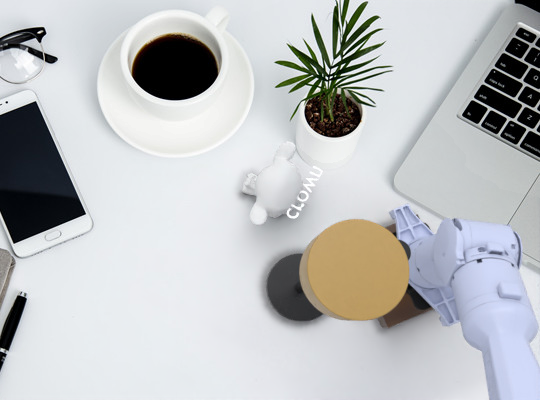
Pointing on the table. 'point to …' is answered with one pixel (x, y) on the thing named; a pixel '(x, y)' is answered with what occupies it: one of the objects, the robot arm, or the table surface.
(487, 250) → the robot arm
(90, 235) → the table surface
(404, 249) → the desk lamp
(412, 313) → the dial panel
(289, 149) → the figurine
